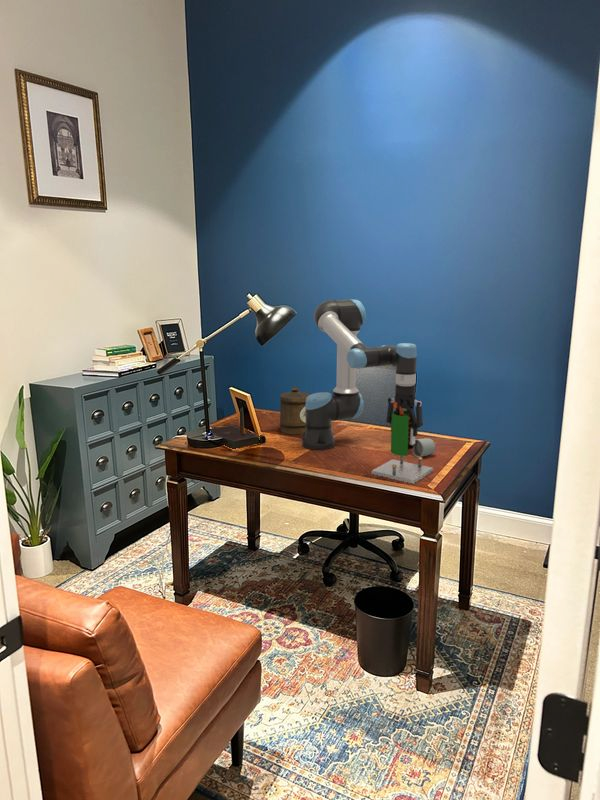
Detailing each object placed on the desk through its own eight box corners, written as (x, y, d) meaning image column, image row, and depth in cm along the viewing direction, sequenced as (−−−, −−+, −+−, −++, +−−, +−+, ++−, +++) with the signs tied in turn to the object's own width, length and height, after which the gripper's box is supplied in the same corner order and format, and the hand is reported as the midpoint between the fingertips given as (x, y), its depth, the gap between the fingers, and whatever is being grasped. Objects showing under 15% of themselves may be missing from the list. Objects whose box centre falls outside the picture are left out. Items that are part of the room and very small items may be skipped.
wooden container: (309, 435, 290) (309, 390, 285) (278, 434, 291) (278, 389, 286) (311, 426, 304) (311, 383, 299) (281, 426, 305) (281, 383, 300)
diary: (236, 433, 296) (236, 423, 295) (266, 445, 277) (266, 434, 275) (203, 439, 284) (202, 429, 283) (231, 452, 265) (231, 441, 264)
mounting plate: (371, 474, 236) (371, 461, 235) (392, 462, 249) (392, 450, 248) (413, 483, 225) (414, 471, 224) (432, 471, 239) (433, 459, 237)
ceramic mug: (436, 456, 257) (437, 438, 256) (422, 459, 253) (422, 441, 252) (419, 450, 266) (420, 433, 265) (405, 453, 262) (405, 436, 260)
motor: (415, 455, 230) (416, 404, 226) (392, 456, 231) (392, 405, 226) (411, 448, 240) (412, 399, 236) (389, 448, 241) (389, 399, 236)
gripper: (377, 383, 232) (376, 440, 237) (425, 388, 221) (423, 449, 226) (387, 380, 238) (385, 436, 243) (434, 385, 226) (431, 444, 231)
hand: (403, 442), depth 234 cm, fingers closed on motor, 7 cm apart
